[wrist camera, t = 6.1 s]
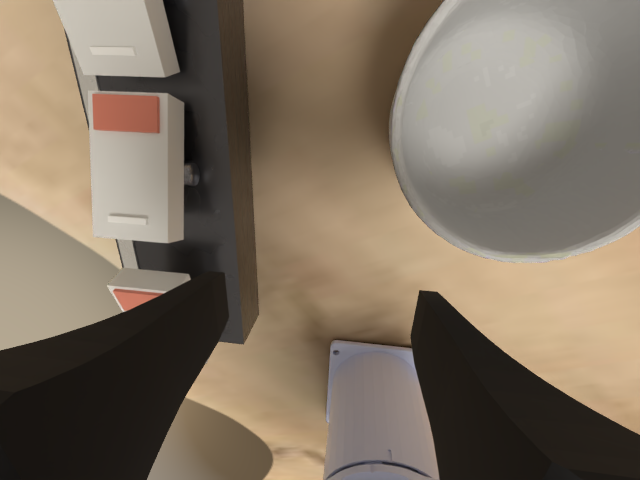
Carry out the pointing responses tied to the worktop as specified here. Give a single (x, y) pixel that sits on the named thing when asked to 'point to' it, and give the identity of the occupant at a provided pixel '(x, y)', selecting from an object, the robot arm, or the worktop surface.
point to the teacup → (522, 126)
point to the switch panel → (204, 154)
